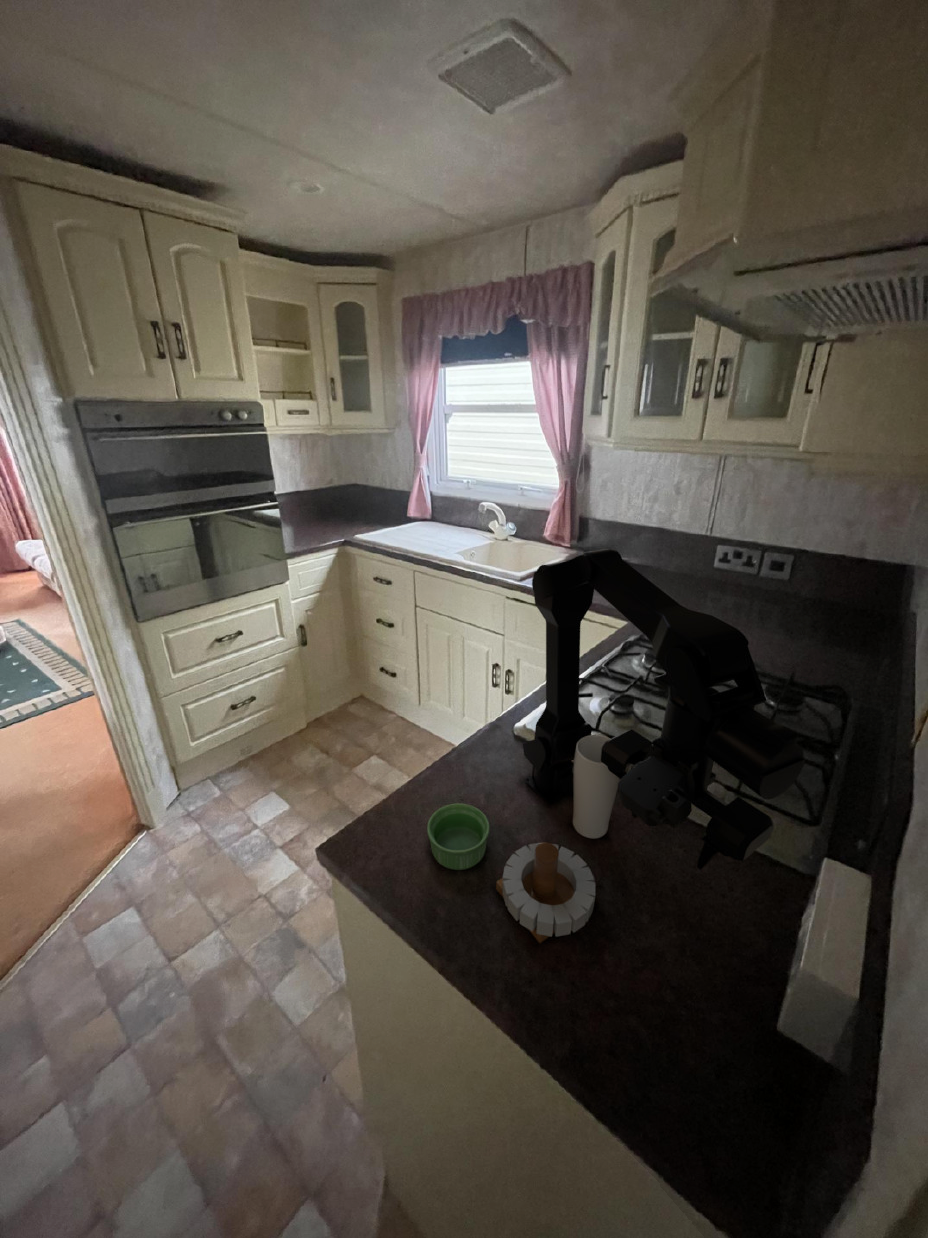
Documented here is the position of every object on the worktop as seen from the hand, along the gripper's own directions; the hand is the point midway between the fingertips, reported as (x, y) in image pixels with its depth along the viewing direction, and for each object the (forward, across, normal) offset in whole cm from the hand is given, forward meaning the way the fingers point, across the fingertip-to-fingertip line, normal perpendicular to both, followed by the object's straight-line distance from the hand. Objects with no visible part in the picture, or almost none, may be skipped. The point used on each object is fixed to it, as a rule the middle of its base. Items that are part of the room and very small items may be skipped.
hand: (666, 840), depth 62 cm
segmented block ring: (+10, -8, -11) cm, 17 cm away
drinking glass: (+12, -14, +3) cm, 19 cm away
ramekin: (+12, -22, -16) cm, 30 cm away
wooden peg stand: (+12, -9, -11) cm, 19 cm away
